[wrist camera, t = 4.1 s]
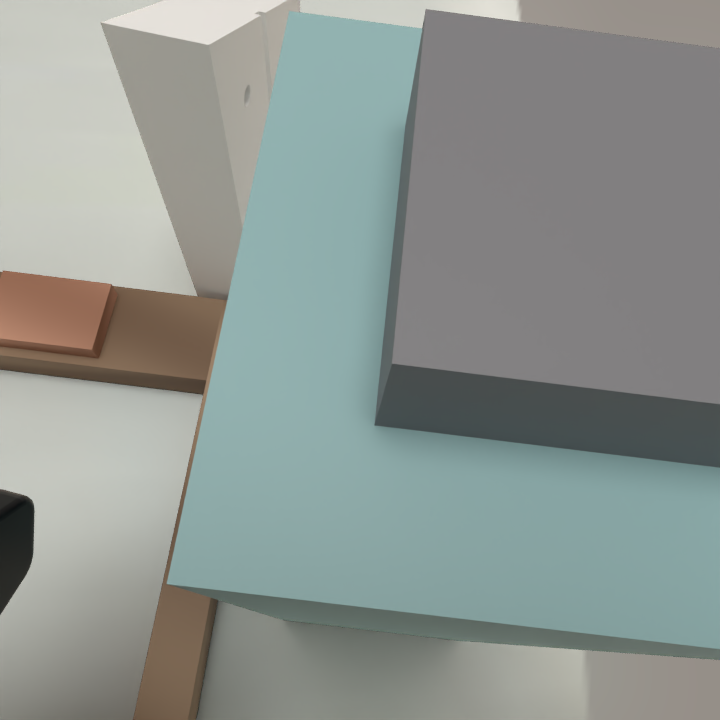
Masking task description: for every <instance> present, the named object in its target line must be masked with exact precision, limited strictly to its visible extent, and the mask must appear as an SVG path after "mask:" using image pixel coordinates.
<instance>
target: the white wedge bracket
mask: <svg viewBox="0 0 720 720" xmlns="http://www.w3.org/2000/svg"><path fill="white" fill-rule="evenodd" d="M289 11H293V12H300V0H164V1H161V2H158V3H155V4H152V5H150V6H147V7H144V8H141V9H138V10H135V11H132V12H129V13H126V14H124V15H121V16H118V17H115V18H112V19H109V20H106V21H103V22H101V25H102V28H103V31H104V34H105V37H106V39H107V42H108V45H109V48H110V51H111V53H112V56H113V59H114V62H115V65H116V68H117V70H118V73H119V76H120V79H121V82H122V84H123V87H124V90H125V93H126V96H127V98H128V101H129V104H130V107H131V110H132V113H133V115H134V118H135V121H136V124H137V127H138V129H139V132H140V135H141V138H142V141H143V143H144V146H145V149H146V152H147V155H148V158H149V160H150V163H151V166H152V169H153V172H154V174H155V177H156V180H157V183H158V186H159V188H160V191H161V194H162V197H163V200H164V203H165V205H166V208H167V211H168V214H169V217H170V219H171V222H172V225H173V228H174V231H175V234H176V236H177V239H178V242H179V245H180V248H181V250H182V253H183V256H184V259H185V262H186V264H187V267H188V270H189V273H190V276H191V279H192V281H193V284H194V287H195V290H196V293H197V295H198V297H204V298H212V299H220V300H228V295H229V290H230V286H231V281H232V276H233V272H234V267H235V262H236V258H237V253H238V248H239V243H240V239H241V234H242V229H243V225H244V220H245V215H246V211H247V206H248V201H249V197H250V192H251V187H252V183H253V178H254V173H255V169H256V164H257V159H258V155H259V150H260V145H261V141H262V136H263V131H264V127H265V122H266V117H267V113H268V108H269V103H270V99H271V94H272V89H273V85H274V80H275V75H276V71H277V66H278V61H279V57H280V52H281V47H282V43H283V38H284V33H285V29H286V24H287V19H288V15H289Z"/></svg>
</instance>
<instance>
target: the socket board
mask: <svg viewBox="0 0 720 720" xmlns="http://www.w3.org/2000/svg"><path fill="white" fill-rule="evenodd" d="M226 304H227V300H220V299H212V298H204V297H196V296H188V295H180V294H172V293H164V292H156V291H148V290H140V289H132V288H124V287H116V286H112V284H106V283H98V282H90V281H82V280H74V279H66V278H58V277H50V276H42V275H34V274H26V273H18V272H10V271H3V272H0V369H2V370H11V371H19V372H27V373H35V374H43V375H51V376H60V377H68V378H76V379H84V380H92V381H100V382H109V383H117V384H125V385H133V386H141V387H149V388H158V389H166V390H174V391H182V392H190V393H198V394H203V399H202V404H201V408H200V413H199V417H198V422H197V427H196V431H195V436H194V440H193V445H192V450H191V454H190V459H189V464H188V468H187V473H186V477H185V482H184V487H183V491H182V496H181V500H180V505H179V510H178V514H177V519H176V524H175V528H174V533H173V537H172V542H171V547H170V551H169V556H168V561H167V565H166V570H165V574H164V579H163V584H162V588H161V593H160V597H159V602H158V607H157V611H156V616H155V621H154V625H153V630H152V634H151V639H150V644H149V648H148V653H147V657H146V662H145V667H144V671H143V676H142V681H141V685H140V690H139V694H138V699H137V704H136V708H135V713H134V717H133V720H196V716H197V711H198V705H199V700H200V695H201V689H202V684H203V678H204V673H205V667H206V662H207V656H208V651H209V645H210V640H211V634H212V629H213V623H214V618H215V612H216V607H217V602H218V600H217V599H214V598H210V597H207V596H204V595H201V594H198V593H194V592H191V591H188V590H185V589H181V588H178V587H175V586H172V585H168V584H167V580H168V575H169V571H170V566H171V561H172V557H173V552H174V547H175V542H176V538H177V533H178V528H179V524H180V519H181V514H182V510H183V505H184V500H185V496H186V491H187V486H188V482H189V477H190V472H191V468H192V463H193V458H194V454H195V449H196V444H197V440H198V435H199V430H200V426H201V421H202V416H203V412H204V407H205V402H206V398H207V393H208V388H209V384H210V379H211V374H212V370H213V365H214V360H215V356H216V351H217V346H218V342H219V337H220V332H221V328H222V323H223V318H224V314H225V309H226Z"/></svg>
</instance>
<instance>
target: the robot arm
mask: <svg viewBox="0 0 720 720" xmlns="http://www.w3.org/2000/svg"><path fill="white" fill-rule="evenodd" d="M33 544H34V504H33V501H32V500H31V499H30V498H29V497H27V496H24V495H21V494H17V493H13V492H10V491H6V490H2V489H0V614H1V613H2V611H3V610H4V608H5V607H6V605H7V604H8V602H9V601H10V599H11V597H12V596H13V594H14V593H15V591H16V590H17V588H18V587H19V585H20V584H21V582H22V580H23V579H24V577H25V576H26V574H27V572H28V570H29V568H30V565H31V562H32V558H33Z"/></svg>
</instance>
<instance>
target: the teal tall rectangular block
mask: <svg viewBox="0 0 720 720" xmlns="http://www.w3.org/2000/svg"><path fill="white" fill-rule="evenodd" d="M167 584H168V585H172V586H175V587H178V588H181V589H185V590H188V591H191V592H194V593H198V594H201V595H204V596H207V597H210V598H214V599H217V600H220V601H223V602H227V603H230V604H233V605H236V606H240V607H243V608H246V609H249V610H253V611H256V612H259V613H262V614H266V615H269V616H272V617H275V618H279V619H282V620H287V621H295V622H304V623H312V624H321V625H329V626H338V627H347V628H355V629H364V630H372V631H381V632H389V633H398V634H406V635H415V636H423V637H432V638H440V639H449V640H457V641H470V642H484V643H497V644H511V645H524V646H538V647H551V648H565V649H579V650H592V651H606V652H620V653H633V654H646V655H660V656H673V657H687V658H700V659H714V660H720V48H713V47H705V46H698V45H691V44H683V43H676V42H668V41H661V40H653V39H646V38H638V37H630V36H623V35H616V34H608V33H600V32H593V31H585V30H578V29H570V28H563V27H556V26H548V25H540V24H532V23H525V22H518V21H510V20H503V19H495V18H488V17H480V16H473V15H465V14H458V13H450V12H443V11H435V10H428V9H426V11H425V17H424V23H423V28H422V29H421V28H413V27H406V26H398V25H391V24H383V23H376V22H368V21H361V20H353V19H346V18H338V17H330V16H323V15H315V14H308V13H300V12H293V11H289V15H288V19H287V24H286V29H285V33H284V38H283V43H282V47H281V52H280V57H279V61H278V66H277V71H276V75H275V80H274V85H273V89H272V94H271V99H270V103H269V108H268V113H267V117H266V122H265V127H264V131H263V136H262V141H261V145H260V150H259V155H258V159H257V164H256V169H255V173H254V178H253V183H252V187H251V192H250V197H249V201H248V206H247V211H246V215H245V220H244V225H243V229H242V234H241V239H240V243H239V248H238V253H237V258H236V262H235V267H234V272H233V276H232V281H231V286H230V290H229V295H228V300H227V304H226V309H225V314H224V318H223V323H222V328H221V332H220V337H219V342H218V346H217V351H216V356H215V360H214V365H213V370H212V374H211V379H210V384H209V388H208V393H207V398H206V402H205V407H204V412H203V416H202V421H201V426H200V430H199V435H198V440H197V444H196V449H195V454H194V458H193V463H192V468H191V472H190V477H189V482H188V486H187V491H186V496H185V500H184V505H183V510H182V514H181V519H180V524H179V528H178V533H177V538H176V542H175V547H174V552H173V557H172V561H171V566H170V571H169V575H168V580H167Z"/></svg>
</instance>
